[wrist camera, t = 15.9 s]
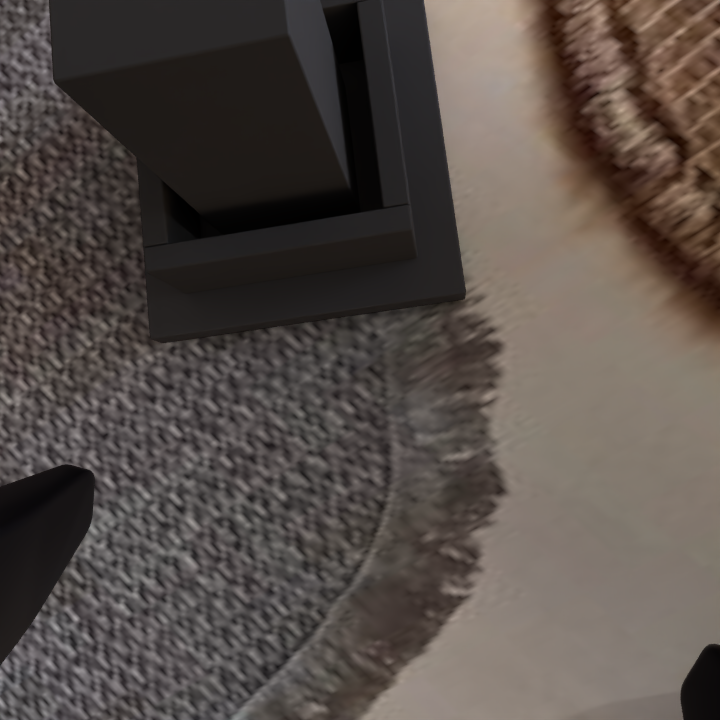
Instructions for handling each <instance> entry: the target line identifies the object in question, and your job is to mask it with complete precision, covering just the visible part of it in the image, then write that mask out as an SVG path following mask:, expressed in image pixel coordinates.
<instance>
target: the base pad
mask: <svg viewBox="0 0 720 720" xmlns="http://www.w3.org/2000/svg"><path fill="white" fill-rule="evenodd" d="M320 2H321V5H322V9H323V12H324V16H325V19H326V23H327V26H328V29H329V33H330V36H331V40H332V43H333V47H334V50H335V54H336V57H337V60H338V64H339V67H340V71H341V74H342V78H343V81H344V84H345V88H346V96H347V105H348V113H349V121H350V129H351V137H352V145H353V153H354V162H355V170H356V178H357V186H358V194H359V202H360V211H361V212H360V213H354V214H348V215H342V216H336V217H330V218H324V219H318V220H312V221H306V222H300V223H293V224H287V225H281V226H275V227H269V228H263V229H257V230H251V231H245V232H239V233H233V234H226V235H222V234H221V233H220V232H219V231H218V230H217V229H216V228H215V227H213V226H212V225H211V224H210V223H209V222H208V221H207V220H206V219H205V218H204V217H202V216H201V215H200V214H199V213H198V212H197V211H196V210H195V209H194V208H192V207H191V206H190V205H189V204H188V203H187V202H186V201H185V200H184V199H183V198H181V197H180V196H179V195H178V194H177V193H176V192H175V191H174V190H173V189H171V188H170V187H169V186H168V185H167V184H166V183H165V182H164V181H163V180H162V179H160V178H159V177H158V176H157V175H156V174H155V173H154V172H153V171H152V170H150V169H149V168H148V167H147V166H146V165H145V164H144V163H143V162H142V161H141V160H139V159H138V158H137V168H138V181H139V195H140V208H141V221H142V235H143V248H144V262H145V275H146V289H147V302H148V316H149V329H150V338H151V339H152V340H155V341H158V342H161V343H166V342H173V341H180V340H187V339H194V338H201V337H208V336H215V335H222V334H228V333H235V332H242V331H249V330H256V329H263V328H270V327H277V326H284V325H290V324H297V323H304V322H311V321H318V320H325V319H332V318H339V317H346V316H353V315H359V314H366V313H373V312H380V311H387V310H394V309H401V308H408V307H415V306H421V305H428V304H435V303H442V302H449V301H456V300H463V299H465V295H466V289H465V282H464V275H463V268H462V261H461V254H460V247H459V240H458V234H457V227H456V220H455V213H454V206H453V199H452V192H451V185H450V178H449V172H448V165H447V158H446V151H445V144H444V137H443V130H442V123H441V116H440V109H439V103H438V96H437V89H436V82H435V75H434V68H433V61H432V54H431V47H430V40H429V34H428V27H427V20H426V13H425V6H424V0H320Z"/></svg>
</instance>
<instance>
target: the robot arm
mask: <svg viewBox="0 0 720 720" xmlns="http://www.w3.org/2000/svg"><path fill="white" fill-rule="evenodd" d="M94 486H95V477H94V474H93V473H92V472H91V471H90V470H88V469H84V468H80V467H77V466H73V465H68V464H65V465H61V466H58V467H55V468H52V469H49V470H46V471H44V472H41V473H38V474H35V475H32V476H29V477H27V478H24V479H21V480H18V481H15V482H12V483H10V484H7V485H4V486H1V487H0V665H1V664H2V662H3V661H4V660H5V659H6V657H7V656H8V655H9V653H10V652H11V651H12V649H13V648H14V647H15V645H16V644H17V643H18V641H19V640H20V639H21V637H22V636H23V635H24V633H25V632H26V630H27V629H28V628H29V626H30V625H31V623H32V622H33V620H34V619H35V617H36V616H37V614H38V612H39V611H40V609H41V608H42V606H43V604H44V603H45V601H46V599H47V598H48V596H49V594H50V593H51V591H52V590H53V588H54V586H55V585H56V583H57V581H58V580H59V578H60V576H61V575H62V573H63V571H64V570H65V568H66V566H67V565H68V563H69V561H70V560H71V558H72V556H73V555H74V553H75V551H76V550H77V548H78V546H79V545H80V543H81V541H82V540H83V538H84V537H85V535H86V533H87V531H88V529H89V527H90V524H91V520H92V515H93V500H94ZM681 707H682V713H683V720H720V645H718V644H709V645H708V646H706V647H705V648H704V649H703V651H702V652H701V654H700V655H699V657H698V659H697V660H696V662H695V664H694V665H693V667H692V668H691V670H690V672H689V673H688V675H687V677H686V678H685V680H684V682H683V684H682V688H681Z"/></svg>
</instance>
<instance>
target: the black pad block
mask: <svg viewBox="0 0 720 720" xmlns="http://www.w3.org/2000/svg"><path fill="white" fill-rule="evenodd" d="M49 9H50V27H51V45H52V63H53V80H54V82H55V84H57V85H58V86H59V87H60V88H61V89H62V90H63V91H64V92H65V93H67V94H68V95H69V96H70V97H71V98H72V99H73V100H74V101H75V102H76V103H78V104H79V105H80V106H81V107H82V108H83V109H84V110H85V111H86V112H88V113H89V114H90V115H91V116H92V117H93V118H94V119H95V120H96V121H97V122H99V123H100V124H101V125H102V126H103V127H104V128H105V129H106V130H107V131H109V132H110V133H111V134H112V135H113V136H114V137H115V138H116V139H117V140H118V141H120V142H121V143H122V144H123V145H124V146H125V147H126V148H127V149H128V150H129V151H131V152H132V153H133V154H134V155H135V156H136V157H137V158H138V159H139V160H141V161H142V162H143V163H144V164H145V165H146V166H147V167H148V168H149V169H150V170H152V171H153V172H154V173H155V174H156V175H157V176H158V177H159V178H160V179H162V180H163V181H164V182H165V183H166V184H167V185H168V186H169V187H170V188H171V189H173V190H174V191H175V192H176V193H177V194H178V195H179V196H180V197H181V198H183V199H184V200H185V201H186V202H187V203H188V204H189V205H190V206H191V207H192V208H194V209H195V210H196V211H197V212H198V213H199V214H200V215H201V216H202V217H204V218H205V219H206V220H207V221H208V222H209V223H210V224H211V225H212V226H213V227H215V228H216V229H217V230H218V231H219V232H220V233H221V234H222V235H226V234H233V233H239V232H245V231H251V230H257V229H263V228H269V227H275V226H281V225H287V224H293V223H300V222H306V221H312V220H318V219H324V218H330V217H336V216H342V215H348V214H354V213H360V212H361V211H360V202H359V194H358V186H357V178H356V170H355V162H354V153H353V145H352V137H351V129H350V121H349V113H348V105H347V96H346V88H345V84H344V81H343V78H342V74H341V71H340V67H339V64H338V60H337V57H336V54H335V50H334V47H333V43H332V40H331V36H330V33H329V29H328V26H327V23H326V19H325V16H324V12H323V9H322V5H321V2H320V0H49Z"/></svg>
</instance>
